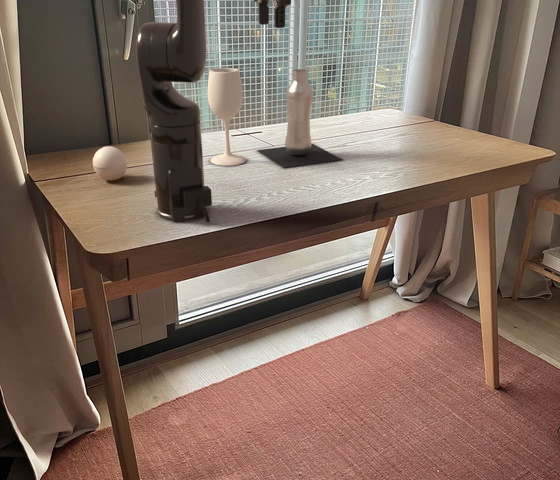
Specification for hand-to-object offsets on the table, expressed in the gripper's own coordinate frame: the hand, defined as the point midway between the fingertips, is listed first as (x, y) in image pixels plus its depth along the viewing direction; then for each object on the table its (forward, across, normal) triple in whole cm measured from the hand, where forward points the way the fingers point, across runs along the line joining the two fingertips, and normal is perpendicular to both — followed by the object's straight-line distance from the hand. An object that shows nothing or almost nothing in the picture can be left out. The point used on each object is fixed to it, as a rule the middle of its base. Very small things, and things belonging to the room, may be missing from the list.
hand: (271, 26), depth 126 cm
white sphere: (+30, -1, -40) cm, 50 cm away
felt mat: (+30, -1, +8) cm, 31 cm away
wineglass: (+30, -4, -10) cm, 32 cm away
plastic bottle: (+30, -1, +8) cm, 31 cm away
